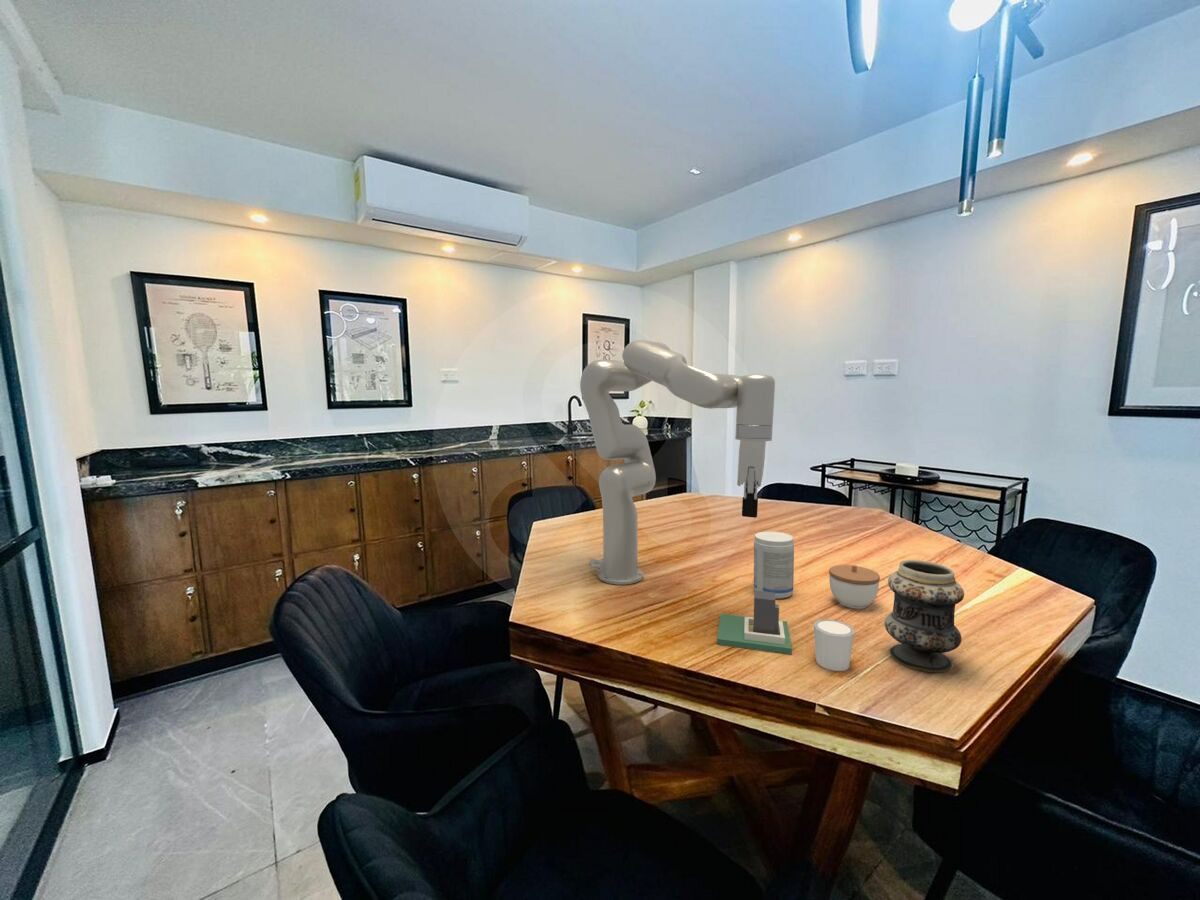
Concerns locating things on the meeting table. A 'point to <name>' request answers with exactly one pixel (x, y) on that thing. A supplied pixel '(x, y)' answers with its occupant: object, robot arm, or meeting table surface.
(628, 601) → the meeting table surface
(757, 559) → the supplement tub
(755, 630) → the plug
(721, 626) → the board
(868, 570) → the lidded jar
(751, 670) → the meeting table surface
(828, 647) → the white cylinder
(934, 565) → the apothecary jar
